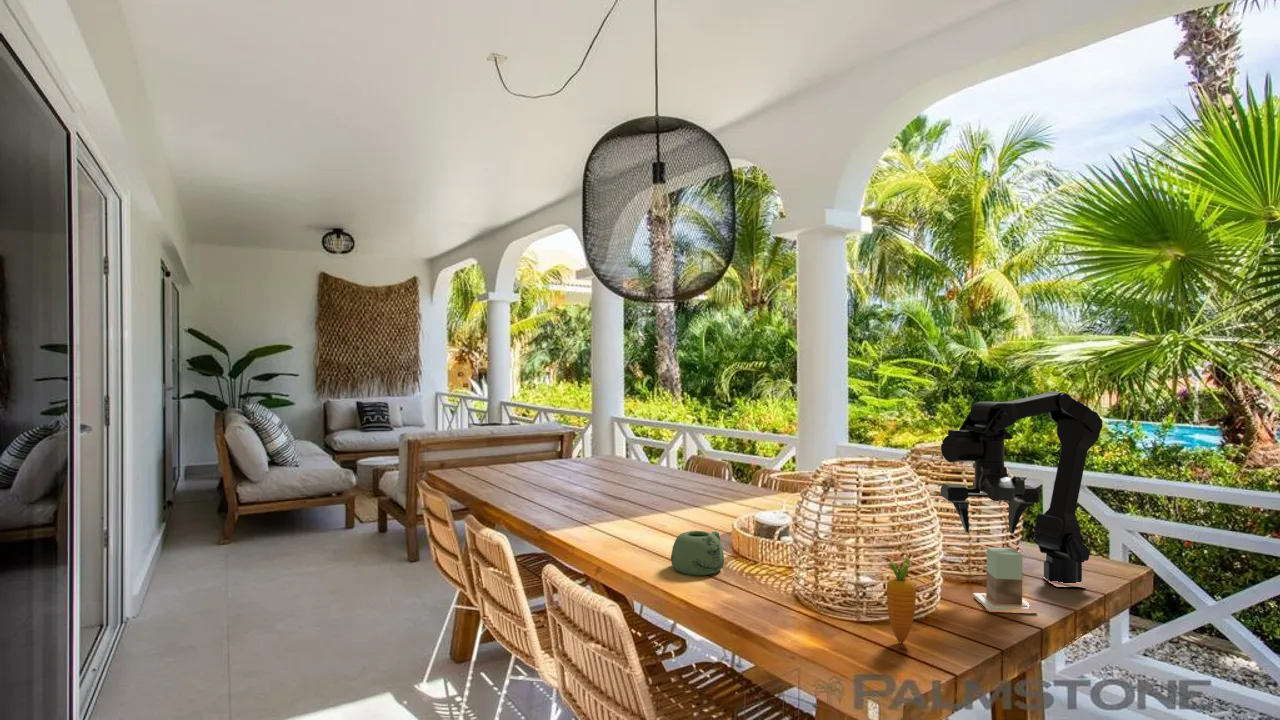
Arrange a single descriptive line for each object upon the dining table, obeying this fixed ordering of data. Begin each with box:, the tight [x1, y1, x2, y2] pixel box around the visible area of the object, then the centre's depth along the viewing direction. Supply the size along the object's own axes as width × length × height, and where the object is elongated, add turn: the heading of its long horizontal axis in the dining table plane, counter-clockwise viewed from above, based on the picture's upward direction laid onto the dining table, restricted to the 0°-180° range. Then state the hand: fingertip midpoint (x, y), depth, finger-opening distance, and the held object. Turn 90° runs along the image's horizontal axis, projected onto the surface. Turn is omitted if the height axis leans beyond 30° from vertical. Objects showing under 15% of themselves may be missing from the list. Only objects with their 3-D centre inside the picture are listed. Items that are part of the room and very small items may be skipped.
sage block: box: [986, 547, 1023, 581], centre depth 145 cm, size 5×5×5 cm
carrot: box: [886, 557, 917, 644], centre depth 126 cm, size 5×5×15 cm
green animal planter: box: [670, 530, 725, 577], centre depth 172 cm, size 16×13×9 cm
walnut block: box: [985, 571, 1023, 604], centre depth 146 cm, size 5×5×5 cm
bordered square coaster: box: [972, 592, 1030, 610], centre depth 145 cm, size 9×9×1 cm
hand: (989, 532), depth 153 cm, fingers open, 9 cm apart
